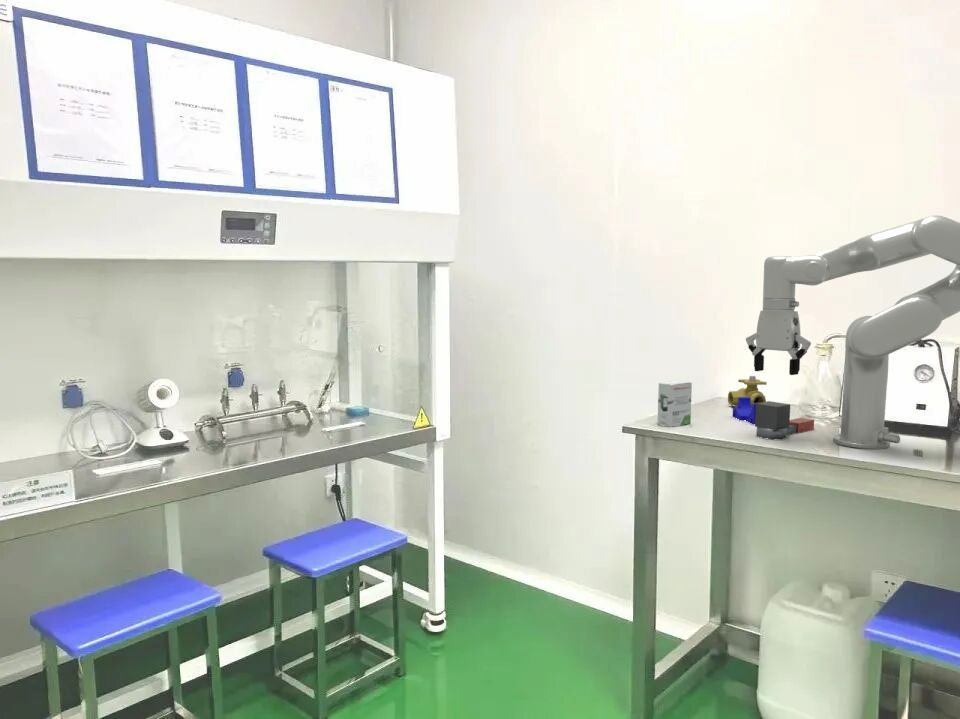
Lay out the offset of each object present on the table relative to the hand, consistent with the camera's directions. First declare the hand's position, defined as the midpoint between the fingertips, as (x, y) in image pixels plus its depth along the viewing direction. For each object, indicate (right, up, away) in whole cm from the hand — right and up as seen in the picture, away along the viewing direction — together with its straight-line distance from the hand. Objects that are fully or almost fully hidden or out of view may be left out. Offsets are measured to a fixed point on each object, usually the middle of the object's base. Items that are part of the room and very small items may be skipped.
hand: (776, 372), depth 196 cm
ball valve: (+8, -12, +45) cm, 47 cm away
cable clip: (+1, -15, +23) cm, 27 cm away
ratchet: (+5, -16, +6) cm, 18 cm away
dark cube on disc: (0, -14, +2) cm, 14 cm away
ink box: (-22, -15, +17) cm, 31 cm away
